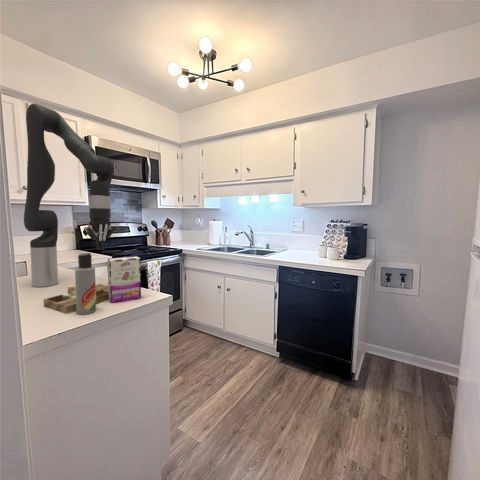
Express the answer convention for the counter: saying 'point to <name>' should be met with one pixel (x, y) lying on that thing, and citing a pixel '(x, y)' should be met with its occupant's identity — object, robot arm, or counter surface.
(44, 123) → the robot arm
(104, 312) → the counter surface
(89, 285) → the lotion bottle
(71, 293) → the beech block
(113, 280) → the candy bar box
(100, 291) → the board
